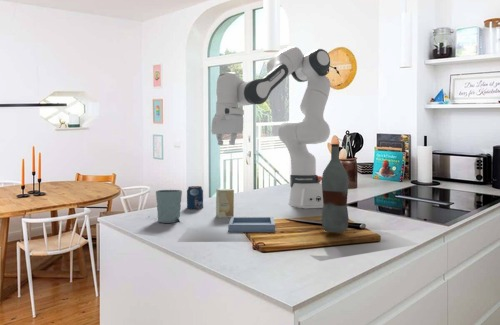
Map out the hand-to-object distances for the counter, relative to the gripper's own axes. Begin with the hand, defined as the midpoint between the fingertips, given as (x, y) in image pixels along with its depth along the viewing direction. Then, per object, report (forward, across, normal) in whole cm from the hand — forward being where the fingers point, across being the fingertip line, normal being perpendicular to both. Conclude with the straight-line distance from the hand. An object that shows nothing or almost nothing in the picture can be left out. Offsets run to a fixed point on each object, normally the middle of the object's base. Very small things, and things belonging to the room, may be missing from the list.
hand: (226, 144), depth 180 cm
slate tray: (+30, +26, -4) cm, 40 cm away
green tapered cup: (+31, -5, -22) cm, 39 cm away
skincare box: (+30, +6, -3) cm, 31 cm away
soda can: (+30, -14, -7) cm, 34 cm away
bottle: (+30, +47, +17) cm, 58 cm away
